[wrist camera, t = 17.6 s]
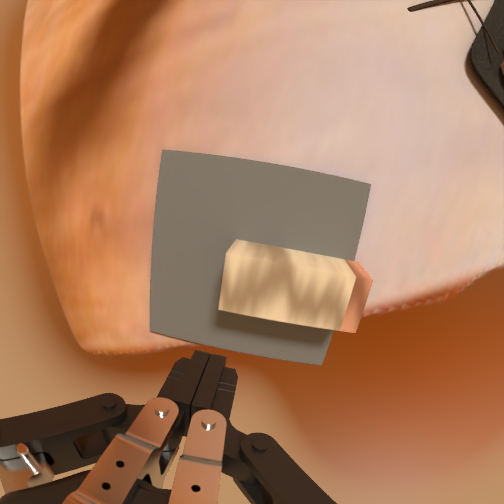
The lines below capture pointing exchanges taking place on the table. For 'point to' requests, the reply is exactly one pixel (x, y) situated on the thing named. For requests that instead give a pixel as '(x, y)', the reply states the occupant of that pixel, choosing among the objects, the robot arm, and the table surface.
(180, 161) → the slate mat
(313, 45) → the table surface
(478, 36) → the sushi plate
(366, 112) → the table surface
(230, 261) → the birch block
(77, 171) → the table surface
